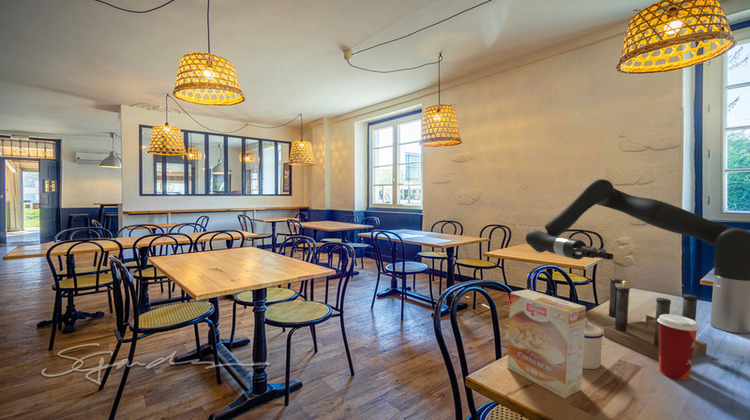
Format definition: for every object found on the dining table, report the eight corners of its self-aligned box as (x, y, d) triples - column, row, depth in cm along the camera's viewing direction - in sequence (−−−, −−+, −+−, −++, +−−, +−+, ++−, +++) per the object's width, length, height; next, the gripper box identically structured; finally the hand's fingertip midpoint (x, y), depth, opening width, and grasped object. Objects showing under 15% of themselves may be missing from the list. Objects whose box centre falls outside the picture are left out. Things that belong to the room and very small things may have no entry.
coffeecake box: (506, 368, 87) (508, 292, 85) (524, 361, 90) (527, 288, 89) (564, 399, 74) (568, 311, 73) (582, 390, 77) (587, 305, 76)
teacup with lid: (608, 364, 89) (610, 320, 88) (590, 374, 84) (592, 327, 84) (562, 346, 99) (564, 306, 99) (544, 353, 94) (546, 312, 94)
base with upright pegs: (642, 329, 112) (645, 282, 111) (706, 354, 96) (710, 298, 95) (603, 336, 106) (606, 286, 105) (664, 362, 90) (668, 304, 89)
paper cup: (703, 384, 80) (707, 326, 79) (665, 380, 82) (669, 323, 81) (680, 367, 88) (684, 314, 87) (646, 364, 89) (650, 311, 89)
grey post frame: (607, 314, 116) (609, 273, 115) (617, 315, 115) (619, 274, 114) (619, 326, 106) (621, 281, 105) (630, 327, 105) (633, 282, 104)
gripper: (556, 239, 133) (598, 246, 116) (582, 238, 137) (626, 245, 120) (555, 258, 133) (596, 268, 117) (581, 256, 137) (624, 266, 121)
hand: (611, 256), depth 119 cm, fingers closed
